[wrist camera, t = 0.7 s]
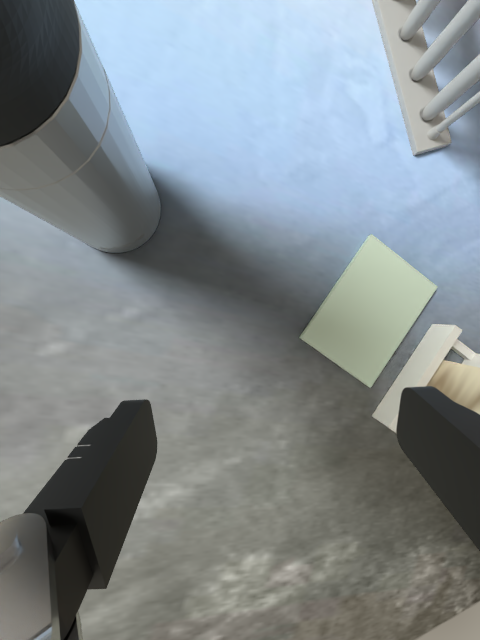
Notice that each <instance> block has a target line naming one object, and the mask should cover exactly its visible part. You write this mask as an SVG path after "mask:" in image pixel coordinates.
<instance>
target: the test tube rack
mask: <svg viewBox="0 0 480 640" xmlns="http://www.w3.org/2000/svg"><path fill="white" fill-rule="evenodd" d="M440 1H441V0H419V1H418V3H417V4H416V1H415V0H372V3H373V6H374V10H375V14H376V18H377V21H378V25H379V29H380V33H381V36H382V40H383V44H384V48H385V52H386V55H387V59H388V63H389V67H390V70H391V74H392V78H393V82H394V85H395V89H396V93H397V97H398V100H399V104H400V108H401V112H402V115H403V119H404V123H405V127H406V131H407V134H408V138H409V142H410V146H411V149H412V153H413V156H414V155H418V154H422V153H425V152H429V151H432V150H436V149H439V148H443V147H446V146H448V145H449V144H451V143H452V142H451V138H450V134H449V130H448V126H450V125H451V124H452V123H454V122H455V121H456V120H457V119H459V118H460V117H461V116H463V115H464V114H465V113H466V112H468V111H469V110H470V109H472V108H473V107H474V106H475V105H477V104H478V103H479V102H480V91H479V92H478V93H477V94H476V95H474V96H473V97H472V98H471V99H469V100H468V101H467V102H466V103H465V104H463V105H462V106H461V107H460V108H458V109H457V110H456V111H455V112H453V113H452V114H451V115H450V116H449V117H447V118H445V114H444V110H445V109H446V108H447V107H449V106H450V105H451V104H452V103H453V102H454V101H456V100H457V99H458V98H459V97H460V96H461V95H463V94H464V93H465V92H466V91H467V90H468V89H470V88H471V87H472V86H473V85H474V84H475V83H477V82H478V81H479V80H480V54H479V55H478V56H477V57H476V58H475V59H474V60H473V61H472V62H471V63H470V64H468V65H467V66H466V67H465V68H464V69H463V70H462V71H461V72H460V73H459V74H458V75H457V76H456V77H455V78H454V79H453V80H452V81H451V82H450V83H449V84H448V85H446V86H445V87H444V88H443V89H442V90H441V91H440V92H439V91H438V87H437V83H436V79H435V75H434V71H433V68H434V67H435V66H436V65H437V64H438V63H439V62H440V60H441V59H442V58H443V57H444V56H445V55H446V54H447V53H448V52H449V51H450V50H451V48H452V47H453V46H454V45H455V44H456V43H457V42H458V41H459V40H460V39H461V38H462V37H463V35H464V34H465V33H466V32H467V31H468V30H469V29H470V28H471V27H472V26H473V25H474V23H475V22H476V21H477V20H478V19H479V18H480V0H468V1H467V2H466V4H465V5H464V6H463V7H462V8H461V10H460V11H459V12H458V13H457V14H456V16H455V17H454V18H453V19H452V20H451V22H450V23H449V24H448V25H447V26H446V28H445V29H444V30H443V31H442V33H441V34H440V35H439V36H438V37H437V39H436V40H435V41H434V42H433V43H432V45H431V46H430V47H429V48H427V44H426V40H425V36H424V32H423V28H422V25H423V24H424V22H425V21H426V20H427V18H428V17H429V16H430V14H431V13H432V12H433V10H434V9H435V8H436V6H437V5H438V4H439V2H440Z"/></svg>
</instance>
